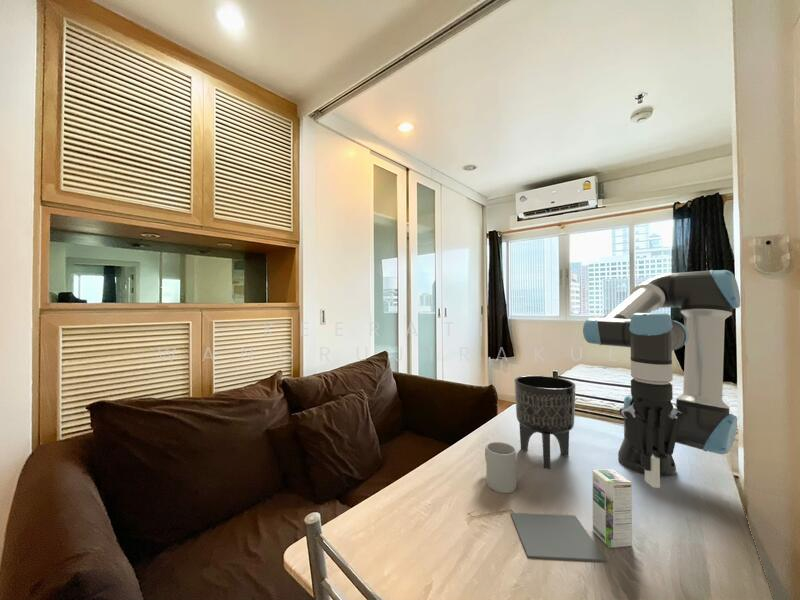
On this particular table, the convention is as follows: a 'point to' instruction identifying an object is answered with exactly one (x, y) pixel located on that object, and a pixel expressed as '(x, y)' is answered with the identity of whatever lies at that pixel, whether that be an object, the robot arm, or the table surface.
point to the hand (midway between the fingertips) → (652, 484)
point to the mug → (500, 467)
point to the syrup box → (612, 508)
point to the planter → (545, 411)
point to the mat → (555, 537)
